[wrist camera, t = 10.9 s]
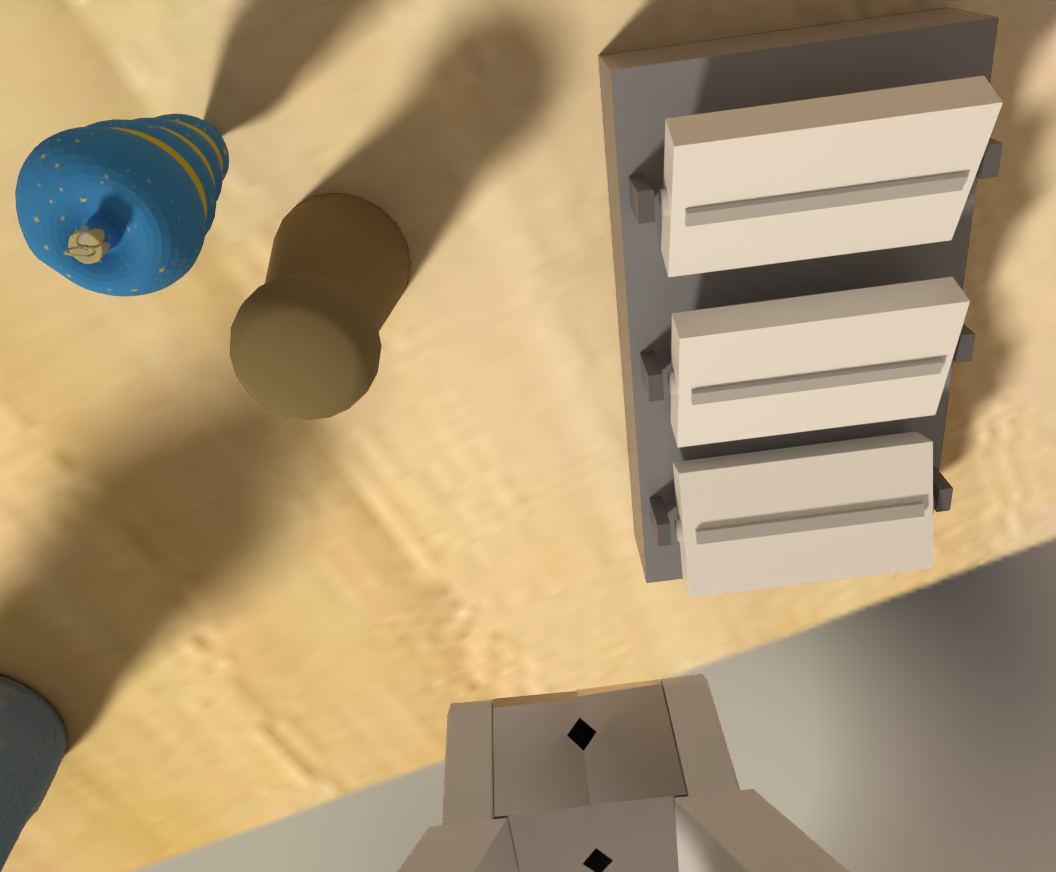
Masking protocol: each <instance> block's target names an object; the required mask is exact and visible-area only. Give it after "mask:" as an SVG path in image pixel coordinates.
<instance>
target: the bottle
mask: <svg viewBox="0 0 1056 872" xmlns="http://www.w3.org/2000/svg"><path fill="white" fill-rule="evenodd" d="M66 745H67V739H66V732H65V727H64V725H63V723H62V722H61V720H60V718H59V716H58V715H57V713H56V711H55V710H54V708H53V707H52V706H51V705H50V704H49V703H48V702H47V701H46V700H44V699H43V698H42V697H40V696H39V695H38V694H37V693H35V692H33V691H31V690H30V689H28V688H27V687H25V686H23V685H22V684H20V683H18V682H15V681H13V680H10V679H8V678H5V677H2V676H0V872H1V870H2V868H3V866H4V864H5V862H6V860H7V858H8V856H9V854H10V852H11V850H12V849H13V847H14V845H15V843H16V841H17V839H18V837H19V835H20V833H21V831H22V829H23V827H24V826H25V824H26V823H27V821H28V820H29V819H30V818H31V816H32V815H33V814H34V813H35V812H36V811H37V810H38V809H39V807H40V805H41V803H42V801H43V799H44V797H45V796H46V793H47V791H48V789H49V787H50V785H51V783H52V781H53V779H54V777H55V775H56V772H57V770H58V767H59V765H60V763H61V761H62V759H63V757H64V754H65V749H66Z"/></svg>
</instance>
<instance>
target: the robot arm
mask: <svg viewBox="0 0 1056 872" xmlns="http://www.w3.org/2000/svg"><path fill="white" fill-rule="evenodd" d="M397 872H849V871H848V870H847V869H846V868H845V867H844V866H842V865H841V864H840V863H839V862H838V861H837V860H835V859H834V858H833V857H832V856H831V855H830V854H828V853H827V852H826V851H825V850H824V849H822V848H821V847H820V846H819V845H818V844H817V843H816V842H814V841H813V840H812V839H811V838H810V837H809V836H807V835H806V834H805V833H804V832H803V831H802V830H801V829H799V828H798V827H797V826H796V825H795V824H793V823H792V822H791V821H790V820H789V819H788V818H787V817H785V816H784V815H783V814H782V813H781V812H780V811H778V810H777V809H776V808H775V807H774V806H773V805H771V804H770V803H769V802H768V801H767V800H766V799H764V798H763V797H762V796H761V795H760V794H759V793H757V792H756V791H755V790H754V789H750V790H740V788H739V784H738V781H737V778H736V774H735V771H734V768H733V764H732V761H731V758H730V754H729V751H728V748H727V744H726V741H725V738H724V734H723V731H722V727H721V724H720V721H719V717H718V714H717V711H716V708H715V704H714V701H713V697H712V694H711V691H710V687H709V684H708V681H707V679H706V678H705V677H704V676H703V674H698V675H690V676H683V677H675V678H667V679H661V680H660V681H659V680H650V681H642V682H635V683H627V684H619V685H612V686H604V687H596V688H589V689H581V690H576V691H571V692H561V693H550V694H539V695H529V696H518V697H508V698H497V699H494V700H484V701H473V702H463V703H452V704H451V705H450V708H449V712H448V715H447V734H446V756H445V778H444V799H443V822H442V825H439V826H431V827H429V828H428V830H427V831H426V832H425V834H424V835H423V837H422V838H421V839H420V841H419V842H418V843H417V845H416V846H415V848H414V849H413V850H412V852H411V853H410V855H409V856H408V857H407V859H406V860H405V862H404V863H403V864H402V866H401V867H400V869H399V870H398V871H397Z"/></svg>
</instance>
